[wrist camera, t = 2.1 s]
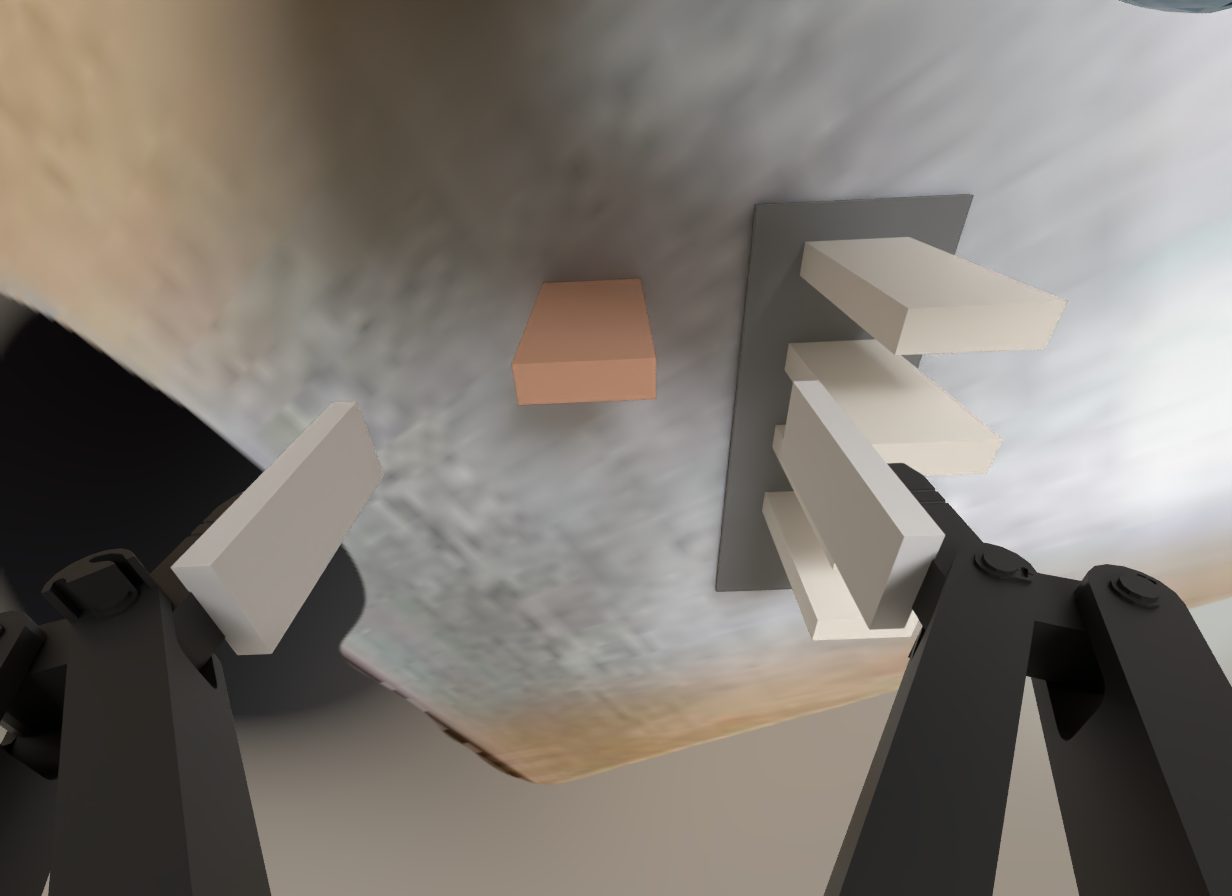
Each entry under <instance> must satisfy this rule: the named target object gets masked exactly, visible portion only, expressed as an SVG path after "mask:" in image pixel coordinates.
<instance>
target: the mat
mask: <svg viewBox="0 0 1232 896" xmlns="http://www.w3.org/2000/svg"><path fill="white" fill-rule="evenodd" d="M973 196H974V195H970V194H960V195H940V196H919V197H898V198H877V199H857V200H836V201H815V202H794V203H774V204H755V214H754V223H753V233H752V243H751V252H750V262H749V272H748V281H747V291H746V301H745V310H744V320H743V329H742V339H741V349H740V358H739V368H738V378H737V387H736V397H735V406H734V416H733V426H732V435H731V445H730V455H729V464H728V474H727V484H726V493H725V503H724V512H723V522H722V532H721V541H720V551H719V561H718V570H717V580H716V591H717V592H725V591H751V590H778V589H792V587H791V584H790V582H789V579H788V577H787V574H786V571H785V569H784V566H783V564H782V561H781V559H780V556H779V553H778V551H777V548H776V546H775V543H774V540H773V538H772V535H771V533H770V530H769V528H768V525H767V522H766V520H765V517H764V515H763V512H762V507H763V501H764V495H765V492H785V491H794V490H793V488H792V486H791V484H790V482H789V480H788V478H787V476H786V474H785V472H784V470H783V468H782V466H781V464H780V462H779V460H778V458H777V456H776V454H775V452H774V450H773V448H772V445H773V439H774V433H775V426H776V425H786V421H787V415H788V409H789V403H790V397H791V391H792V385H793V382H792V380H791V379H790V377H789V376H788V374H787V373H786V372H785V364H786V358H787V352H788V345H789V343H805V342H828V341H850V340H873V339H875V338H874V337H872V336H871V335H870V334H869V333H868V332H866V331H865V330H864V329H863V328H862V327H860V326H859V325H858V324H857V323H856V322H855V321H853V320H852V319H851V318H850V317H849V316H847V315H846V314H845V313H844V312H843V311H841V310H840V309H839V308H838V307H837V306H835V305H834V304H833V303H832V302H831V301H830V300H828V299H827V298H826V297H825V296H824V295H822V294H821V293H820V292H819V291H818V290H816V289H815V288H814V287H813V286H812V285H810V284H809V283H808V282H807V281H806V280H805V279H803V278H802V277H801V276H800V271H801V265H802V258H803V252H804V246H805V242H810V241H832V240H853V239H874V238H895V237H910V238H913V239H915V240H918V241H920V242H923V243H925V244H928V245H930V246H933V247H935V248H938V249H940V250H943V251H945V252H947V253H950V254H952V255H955V251H956V248H957V245H958V242H959V239H960V236H961V233H962V230H963V227H964V224H965V220H966V217H967V214H968V211H969V208H970V205H971V202H972V199H973ZM901 356H903V357H904V358H905V359H906V360H907V361H909V362H910V363H911V364H912V365H914V366H915V367H916V368H917V369H918V366H919V363H920V360H921V357H922V354H915V355H901Z"/></svg>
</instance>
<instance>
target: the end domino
mask: <svg viewBox="0 0 1232 896" xmlns="http://www.w3.org/2000/svg"><path fill="white" fill-rule="evenodd" d="M511 365H512V370H513V376H514V382H515V388H516V393H517V399H518V405H531V404H554V403H577V402H600V401H623V400H645V399H656V354H655V349H654V344H653V339H652V334H651V329H650V324H649V319H648V314H647V309H646V304H645V299H644V294H643V289H642V284H641V279H640V278H639V279H618V280H597V281H575V282H554V283H543V284H542V287H541V289H540V292H539V294H538V297H537V300H536V302H535V305H534V307H533V310H532V313H531V315H530V318H529V320H528V323H527V326H526V328H525V331H524V333H523V336H522V338H521V341H520V344H519V346H518V349H517V351H516V354H515V357H514V359H513V362H512V364H511Z"/></svg>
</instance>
